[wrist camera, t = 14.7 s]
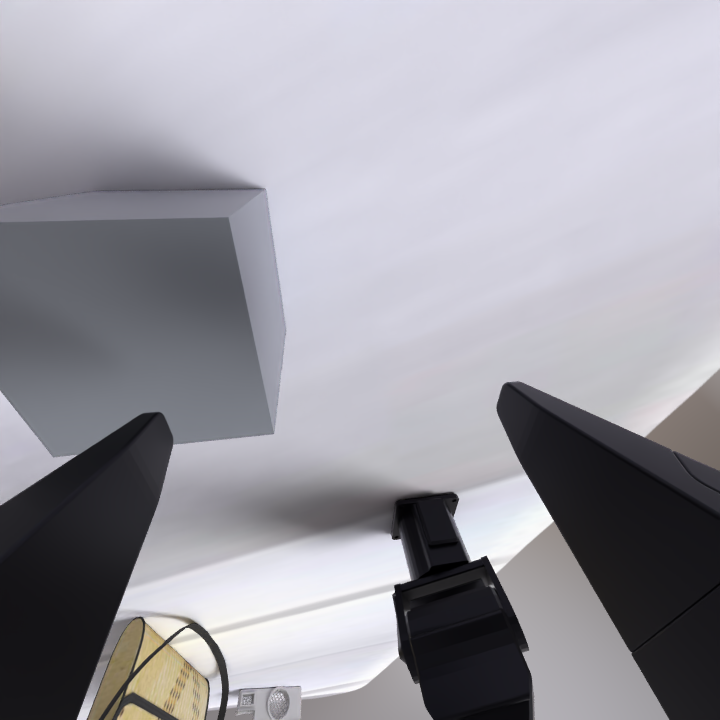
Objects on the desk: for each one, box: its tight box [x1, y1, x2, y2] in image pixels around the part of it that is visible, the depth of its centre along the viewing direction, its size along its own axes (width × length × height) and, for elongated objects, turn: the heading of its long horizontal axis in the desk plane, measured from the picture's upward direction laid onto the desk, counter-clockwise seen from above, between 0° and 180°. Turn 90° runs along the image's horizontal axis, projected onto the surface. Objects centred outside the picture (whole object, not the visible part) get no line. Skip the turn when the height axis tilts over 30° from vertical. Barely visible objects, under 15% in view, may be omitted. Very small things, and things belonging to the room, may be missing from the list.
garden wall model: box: [235, 686, 301, 720], centre depth 55 cm, size 12×2×6 cm, turn 60°
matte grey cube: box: [0, 189, 286, 457], centre depth 13 cm, size 8×8×9 cm
